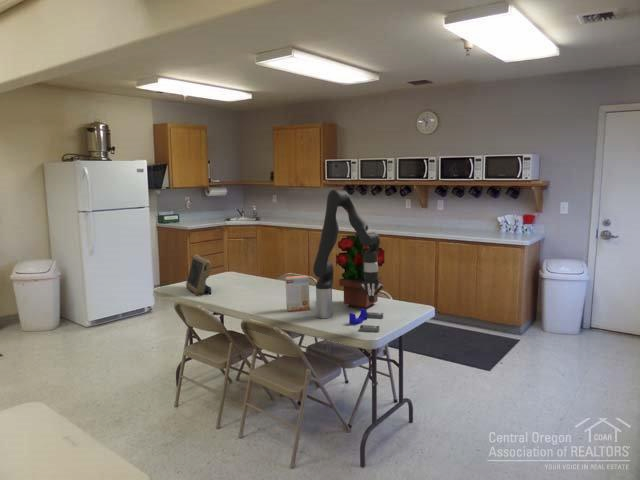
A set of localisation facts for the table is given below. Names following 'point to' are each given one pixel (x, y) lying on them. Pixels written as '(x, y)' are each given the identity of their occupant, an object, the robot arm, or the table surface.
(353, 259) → the potted plant
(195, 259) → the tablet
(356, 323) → the cable clip
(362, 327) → the label stands
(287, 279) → the cracker box
